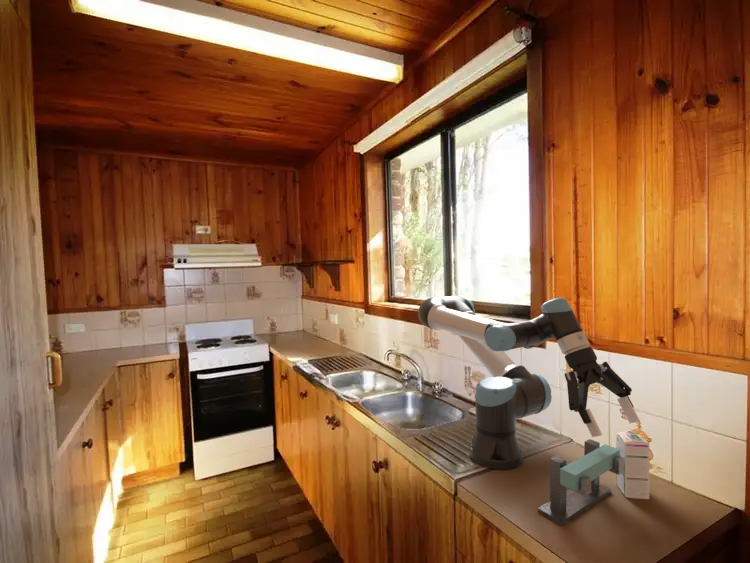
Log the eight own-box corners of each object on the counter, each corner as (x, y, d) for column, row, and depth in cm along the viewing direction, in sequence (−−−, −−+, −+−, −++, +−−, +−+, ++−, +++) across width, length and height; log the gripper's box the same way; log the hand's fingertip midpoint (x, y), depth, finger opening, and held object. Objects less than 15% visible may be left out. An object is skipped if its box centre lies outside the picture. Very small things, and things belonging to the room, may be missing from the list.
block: (560, 483, 89) (560, 468, 89) (605, 457, 100) (605, 444, 100) (575, 490, 86) (575, 475, 86) (619, 463, 97) (619, 449, 97)
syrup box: (650, 500, 96) (651, 442, 96) (624, 497, 98) (624, 440, 97) (639, 487, 102) (640, 432, 101) (614, 484, 103) (615, 431, 103)
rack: (537, 512, 93) (537, 458, 92) (587, 481, 105) (587, 434, 104) (579, 536, 84) (579, 477, 84) (627, 500, 97) (628, 448, 96)
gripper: (551, 355, 101) (591, 440, 93) (619, 338, 110) (661, 414, 102) (533, 363, 108) (570, 443, 99) (599, 346, 116) (638, 419, 108)
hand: (616, 429), depth 100 cm, fingers open, 13 cm apart
